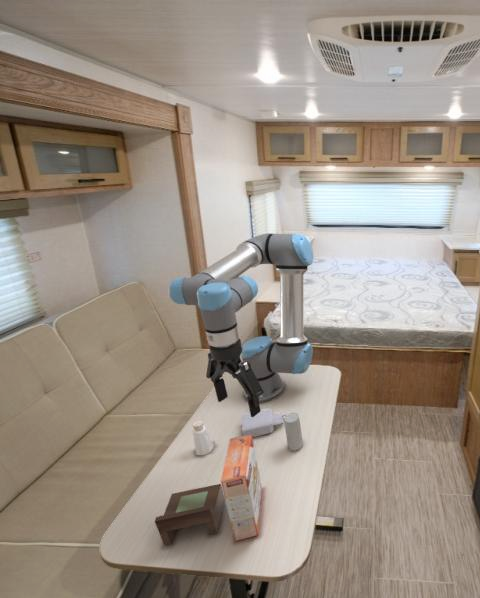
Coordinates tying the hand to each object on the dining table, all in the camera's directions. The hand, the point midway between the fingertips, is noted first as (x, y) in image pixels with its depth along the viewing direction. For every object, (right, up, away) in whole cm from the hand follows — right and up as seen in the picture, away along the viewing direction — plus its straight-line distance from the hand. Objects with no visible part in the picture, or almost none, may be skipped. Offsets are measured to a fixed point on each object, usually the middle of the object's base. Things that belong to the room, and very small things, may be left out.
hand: (239, 406), depth 98 cm
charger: (-2, -15, +25) cm, 29 cm away
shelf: (-8, -28, -7) cm, 30 cm away
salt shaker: (-18, -19, +15) cm, 31 cm away
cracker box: (+6, -28, -5) cm, 29 cm away
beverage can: (+11, -19, +17) cm, 27 cm away
